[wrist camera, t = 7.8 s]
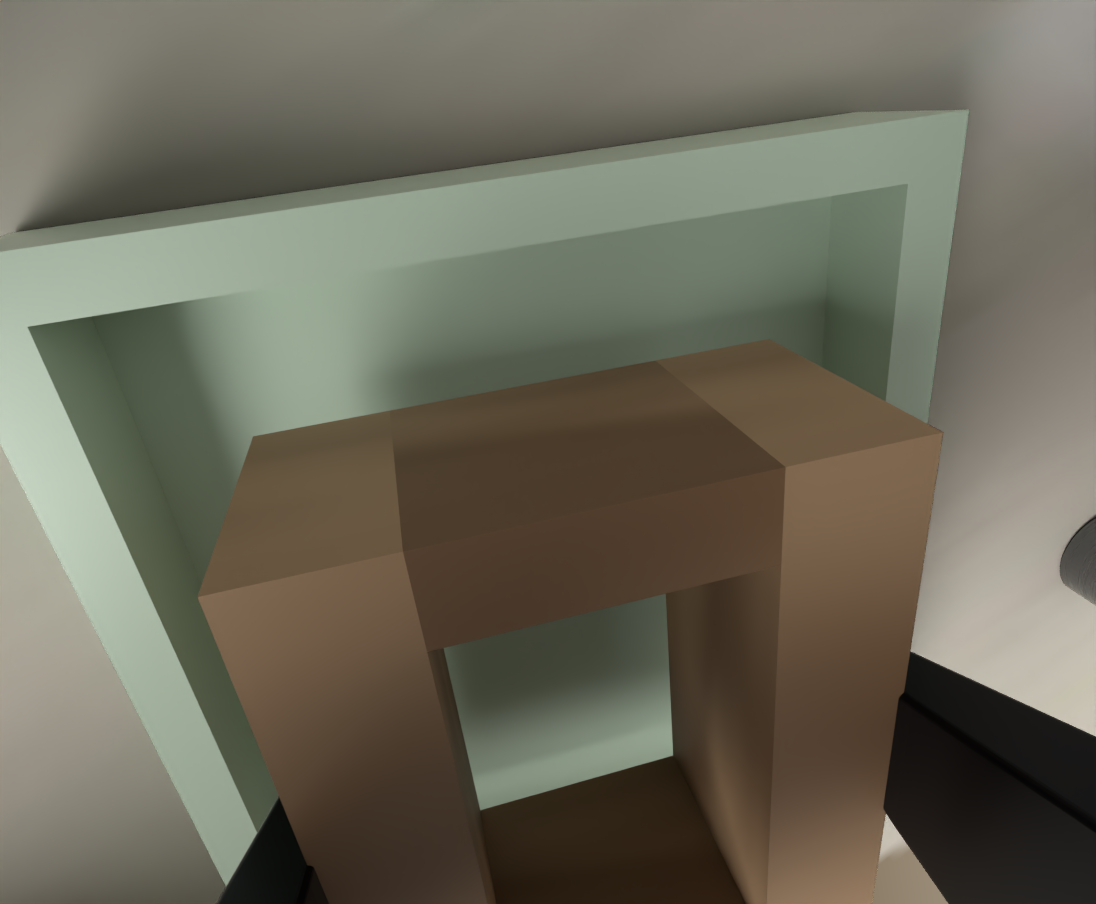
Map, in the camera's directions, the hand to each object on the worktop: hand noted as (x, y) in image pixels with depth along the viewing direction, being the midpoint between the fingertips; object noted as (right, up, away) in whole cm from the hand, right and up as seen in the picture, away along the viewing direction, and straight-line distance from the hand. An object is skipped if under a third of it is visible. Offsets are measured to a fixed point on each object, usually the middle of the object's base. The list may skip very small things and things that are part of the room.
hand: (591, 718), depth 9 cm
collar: (0, +1, +1) cm, 2 cm away
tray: (-1, +1, +3) cm, 4 cm away
